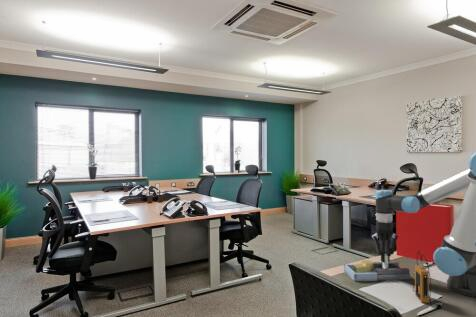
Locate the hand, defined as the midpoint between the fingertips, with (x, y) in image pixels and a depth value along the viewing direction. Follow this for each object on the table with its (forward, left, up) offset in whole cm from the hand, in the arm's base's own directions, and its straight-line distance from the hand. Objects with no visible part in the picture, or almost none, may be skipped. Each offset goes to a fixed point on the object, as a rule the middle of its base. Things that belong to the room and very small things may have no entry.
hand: (385, 268), depth 153 cm
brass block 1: (+1, +11, 0) cm, 11 cm away
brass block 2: (+1, +9, -1) cm, 9 cm away
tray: (+1, +13, -4) cm, 13 cm away
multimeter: (-26, -5, -4) cm, 27 cm away
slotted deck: (+1, -1, -4) cm, 4 cm away
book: (+22, -34, -4) cm, 41 cm away
